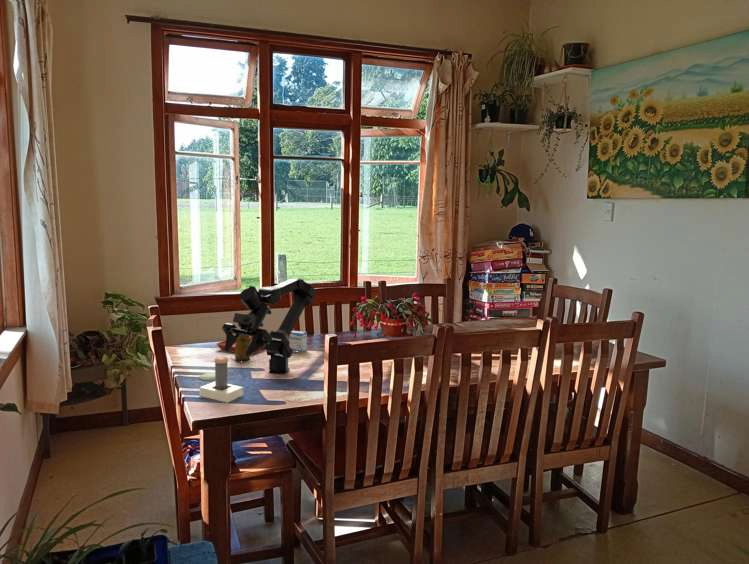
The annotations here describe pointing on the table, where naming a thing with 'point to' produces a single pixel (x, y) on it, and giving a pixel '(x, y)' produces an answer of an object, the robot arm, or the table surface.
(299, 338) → the medicine box
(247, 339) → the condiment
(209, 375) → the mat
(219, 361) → the plug
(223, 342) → the plant saucer
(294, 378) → the table surface
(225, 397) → the square frame
